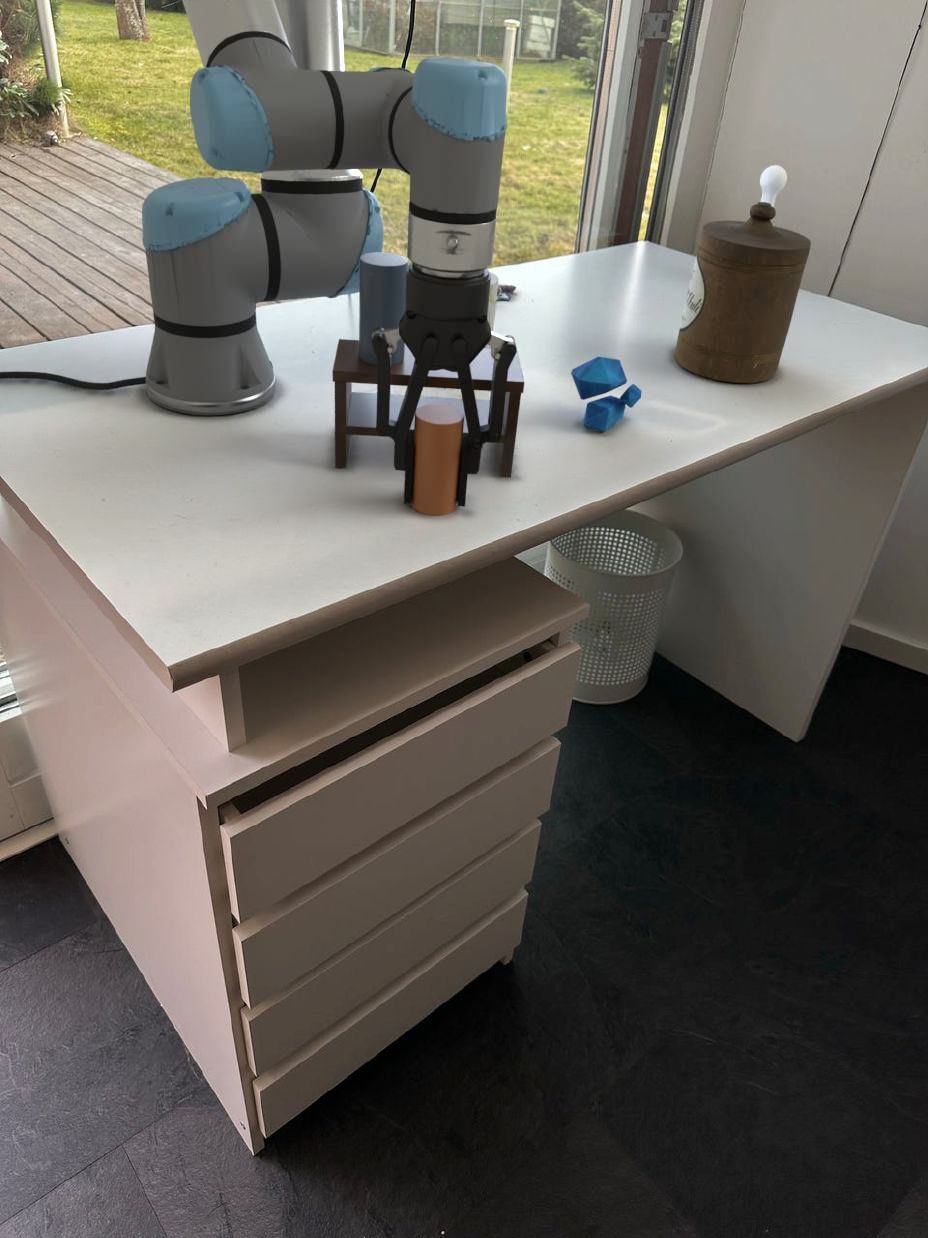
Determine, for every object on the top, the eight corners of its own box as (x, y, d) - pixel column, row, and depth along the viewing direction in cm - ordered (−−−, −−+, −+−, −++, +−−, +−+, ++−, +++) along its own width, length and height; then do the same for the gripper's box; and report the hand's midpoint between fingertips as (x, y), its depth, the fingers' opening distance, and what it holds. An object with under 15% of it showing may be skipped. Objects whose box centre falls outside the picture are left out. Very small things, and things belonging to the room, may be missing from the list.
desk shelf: (333, 467, 99) (332, 370, 93) (339, 431, 106) (338, 338, 100) (512, 477, 101) (524, 382, 94) (506, 441, 108) (517, 350, 101)
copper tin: (410, 491, 97) (415, 402, 91) (456, 493, 97) (463, 404, 91) (410, 514, 93) (414, 423, 87) (457, 516, 93) (465, 425, 87)
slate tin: (357, 363, 95) (358, 264, 89) (360, 347, 98) (361, 250, 92) (404, 366, 95) (408, 267, 89) (404, 349, 99) (408, 253, 93)
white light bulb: (778, 291, 166) (812, 171, 154) (755, 297, 162) (787, 174, 150) (728, 274, 172) (757, 157, 161) (704, 280, 168) (731, 160, 156)
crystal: (662, 364, 113) (621, 368, 103) (641, 433, 117) (600, 442, 107) (609, 348, 116) (565, 350, 107) (590, 414, 120) (546, 422, 110)
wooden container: (693, 338, 142) (728, 184, 129) (787, 362, 137) (834, 205, 124) (658, 365, 132) (693, 201, 119) (759, 393, 126) (807, 224, 113)
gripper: (344, 270, 77) (344, 512, 91) (554, 285, 78) (523, 521, 92) (350, 246, 83) (349, 476, 97) (545, 260, 84) (517, 485, 98)
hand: (434, 498), depth 94 cm, fingers closed on copper tin, 5 cm apart
